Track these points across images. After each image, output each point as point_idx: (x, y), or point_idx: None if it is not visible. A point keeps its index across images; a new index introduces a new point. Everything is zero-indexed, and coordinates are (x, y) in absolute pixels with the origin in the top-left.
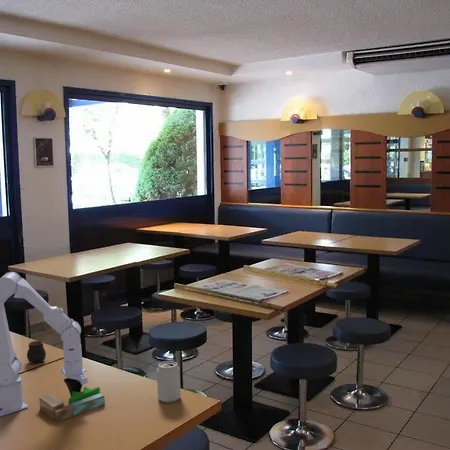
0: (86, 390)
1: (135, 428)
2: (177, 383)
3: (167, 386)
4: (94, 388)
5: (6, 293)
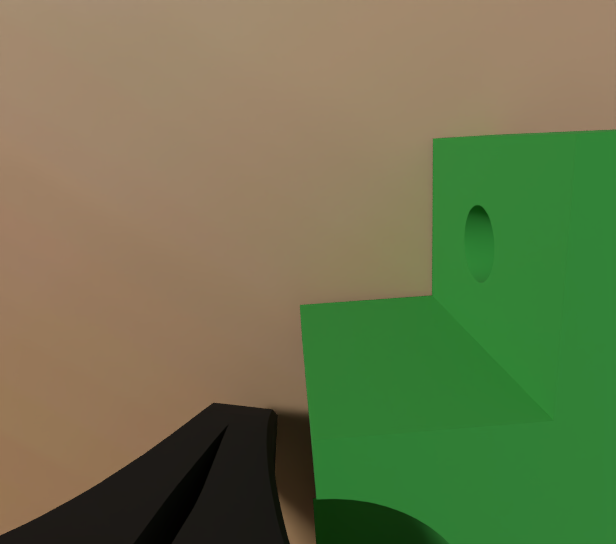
0: (512, 520)
1: None
2: None
3: None
4: (589, 292)
5: None
